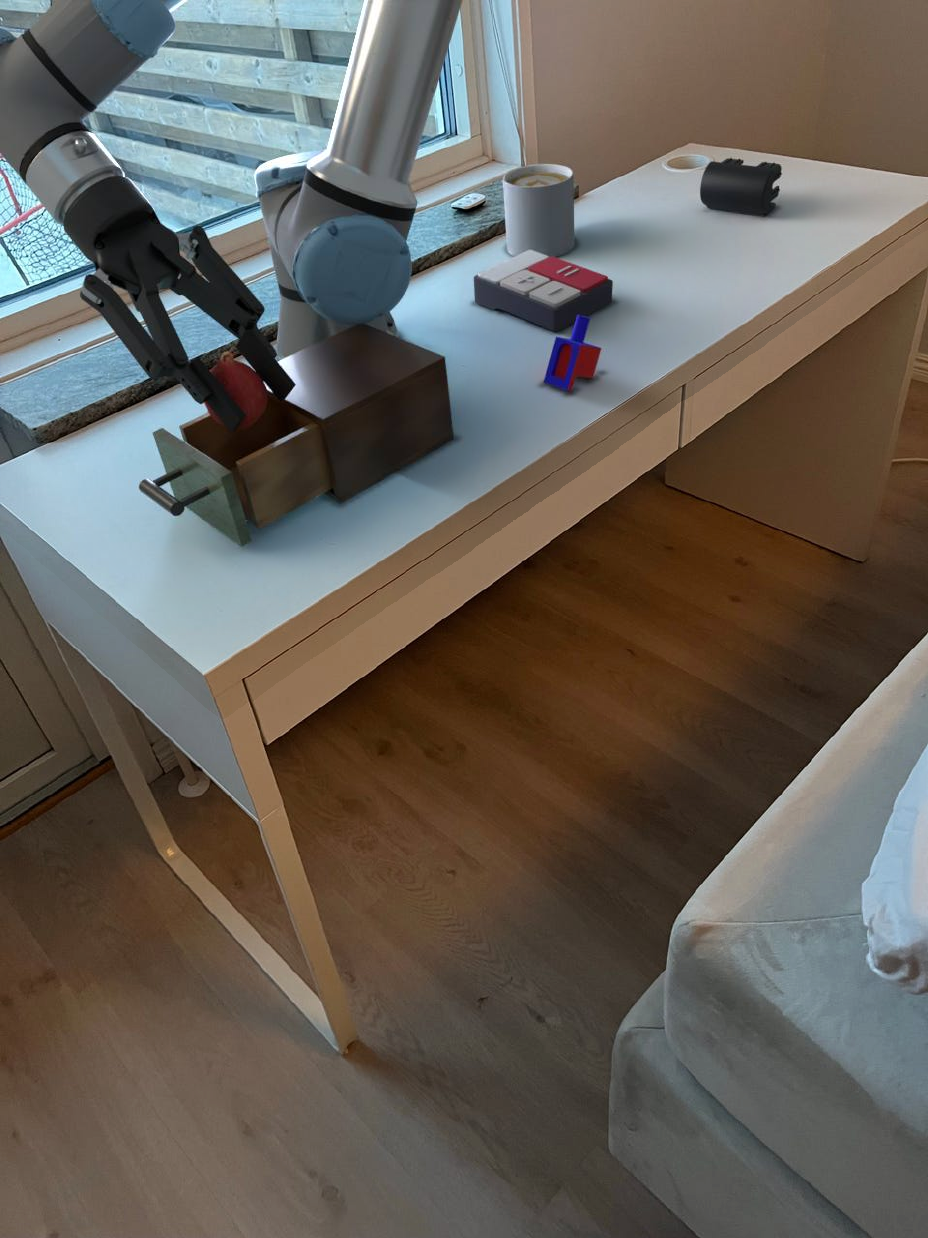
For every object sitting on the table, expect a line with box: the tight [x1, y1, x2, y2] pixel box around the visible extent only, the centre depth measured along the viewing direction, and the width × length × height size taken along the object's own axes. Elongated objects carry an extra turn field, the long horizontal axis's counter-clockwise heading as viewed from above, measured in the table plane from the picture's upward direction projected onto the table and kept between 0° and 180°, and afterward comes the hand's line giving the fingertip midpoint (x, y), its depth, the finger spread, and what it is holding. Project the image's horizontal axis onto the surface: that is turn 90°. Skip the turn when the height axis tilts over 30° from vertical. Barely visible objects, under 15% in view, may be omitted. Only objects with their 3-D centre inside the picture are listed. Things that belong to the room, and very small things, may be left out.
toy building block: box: [543, 315, 602, 393], centre depth 109 cm, size 4×4×8 cm
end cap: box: [699, 157, 783, 217], centre depth 143 cm, size 10×7×7 cm
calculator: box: [473, 250, 614, 332], centre depth 126 cm, size 11×4×15 cm
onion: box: [203, 350, 267, 431], centre depth 90 cm, size 6×6×8 cm
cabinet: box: [264, 324, 455, 504], centre depth 101 cm, size 16×14×10 cm
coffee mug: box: [502, 163, 575, 258], centre depth 139 cm, size 13×10×10 cm
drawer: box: [138, 396, 333, 548], centre depth 94 cm, size 19×12×8 cm, turn 133°
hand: (263, 407), depth 89 cm, fingers closed on onion, 6 cm apart
